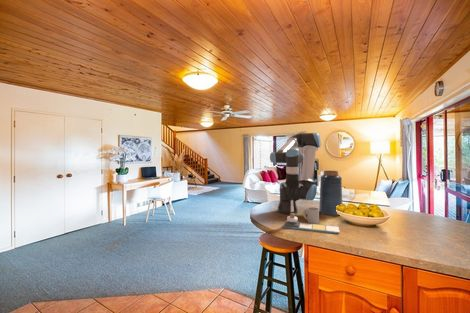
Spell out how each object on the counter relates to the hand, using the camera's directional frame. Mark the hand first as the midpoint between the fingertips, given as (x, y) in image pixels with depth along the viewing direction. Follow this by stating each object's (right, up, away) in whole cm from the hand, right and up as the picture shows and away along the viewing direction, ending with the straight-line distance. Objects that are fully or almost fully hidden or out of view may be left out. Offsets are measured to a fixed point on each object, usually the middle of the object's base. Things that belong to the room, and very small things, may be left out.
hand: (292, 211), depth 138 cm
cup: (+14, -9, +8) cm, 19 cm away
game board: (+10, -9, -3) cm, 14 cm away
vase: (+36, -9, +28) cm, 47 cm away
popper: (0, -6, 0) cm, 6 cm away
